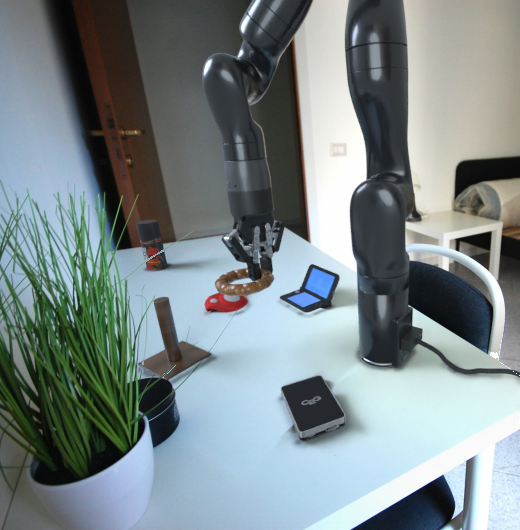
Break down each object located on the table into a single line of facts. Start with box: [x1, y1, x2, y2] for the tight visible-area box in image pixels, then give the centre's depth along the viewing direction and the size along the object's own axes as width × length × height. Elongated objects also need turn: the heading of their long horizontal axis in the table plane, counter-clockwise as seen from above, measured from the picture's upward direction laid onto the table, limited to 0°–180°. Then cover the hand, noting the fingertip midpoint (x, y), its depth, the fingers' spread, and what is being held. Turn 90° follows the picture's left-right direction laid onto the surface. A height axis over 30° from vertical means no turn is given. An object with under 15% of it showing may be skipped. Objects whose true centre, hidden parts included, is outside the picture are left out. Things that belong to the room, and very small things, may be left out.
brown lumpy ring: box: [214, 267, 275, 297], centre depth 67 cm, size 10×10×2 cm
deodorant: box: [135, 219, 168, 271], centre depth 116 cm, size 6×6×15 cm
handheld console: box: [279, 263, 341, 314], centre depth 91 cm, size 12×11×7 cm
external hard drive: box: [280, 374, 347, 442], centre depth 56 cm, size 7×11×2 cm, turn 26°
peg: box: [137, 296, 212, 380], centre depth 66 cm, size 9×9×13 cm
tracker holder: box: [203, 292, 249, 313], centre depth 91 cm, size 12×4×10 cm
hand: (261, 278), depth 70 cm, fingers closed on brown lumpy ring, 2 cm apart
